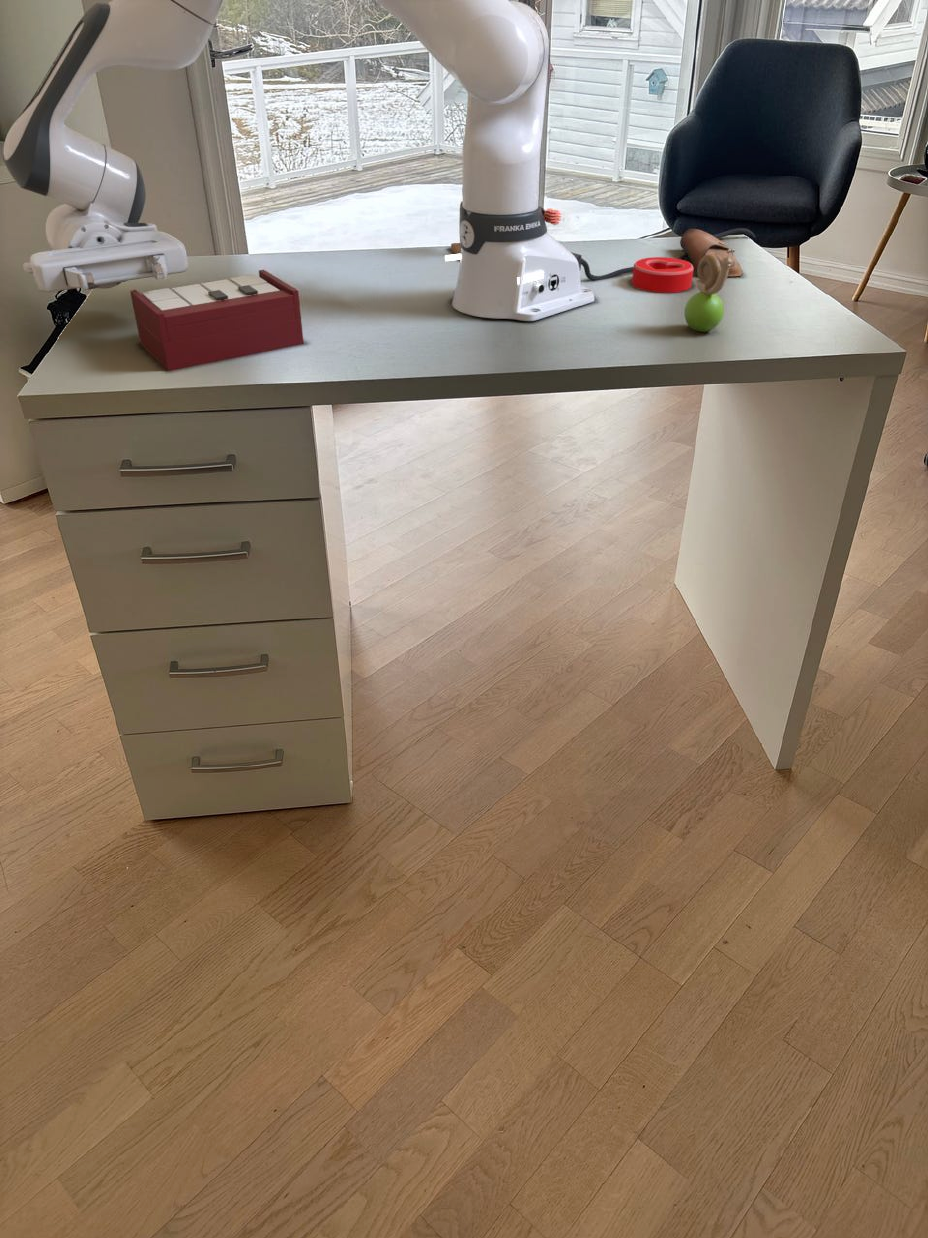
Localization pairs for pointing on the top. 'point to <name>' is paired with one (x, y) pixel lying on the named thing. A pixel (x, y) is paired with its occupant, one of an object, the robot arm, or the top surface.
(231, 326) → the toy piano
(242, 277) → the c key
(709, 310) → the snail figurine
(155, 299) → the f key
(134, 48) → the robot arm
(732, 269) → the sunglasses case
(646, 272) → the decorative ornament
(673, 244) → the top surface
